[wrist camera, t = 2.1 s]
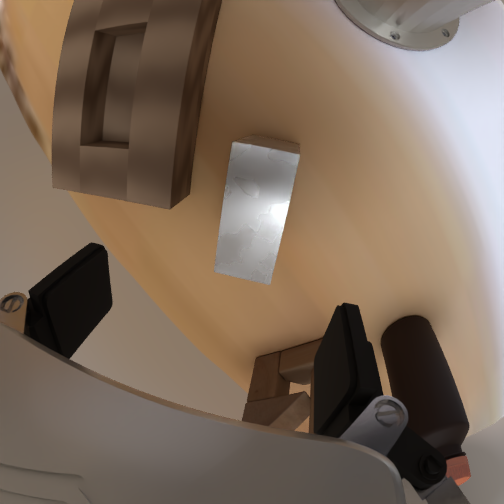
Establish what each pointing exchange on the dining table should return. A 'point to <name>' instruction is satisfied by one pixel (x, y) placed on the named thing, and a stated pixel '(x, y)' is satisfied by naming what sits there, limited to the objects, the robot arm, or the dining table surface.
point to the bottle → (427, 390)
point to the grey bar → (255, 206)
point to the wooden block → (282, 388)
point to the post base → (131, 98)
